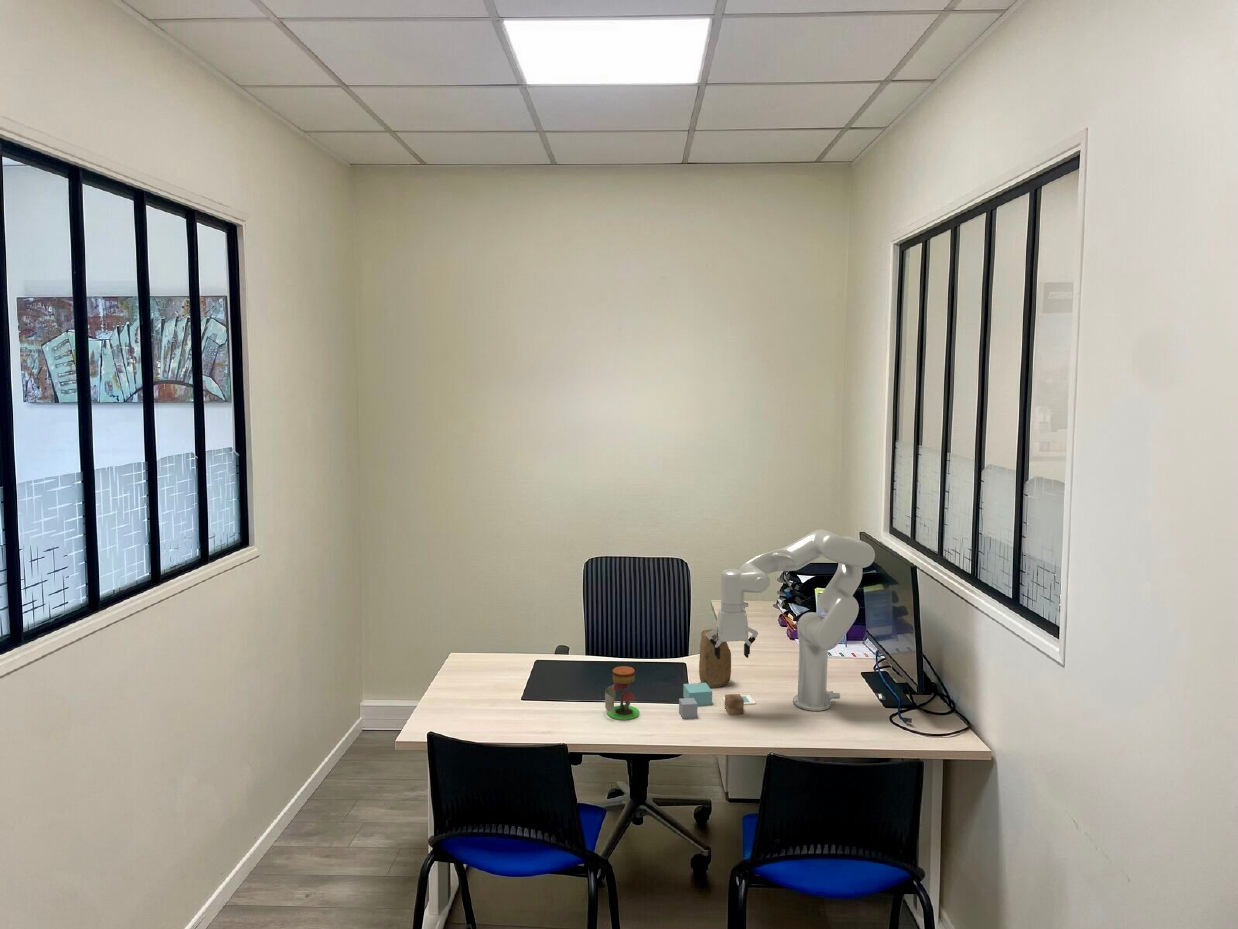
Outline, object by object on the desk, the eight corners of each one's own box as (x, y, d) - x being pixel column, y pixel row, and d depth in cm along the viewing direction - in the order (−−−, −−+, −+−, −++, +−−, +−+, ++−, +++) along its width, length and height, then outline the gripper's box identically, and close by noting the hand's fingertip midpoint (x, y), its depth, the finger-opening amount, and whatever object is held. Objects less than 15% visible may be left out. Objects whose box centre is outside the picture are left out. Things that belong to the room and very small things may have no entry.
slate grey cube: (693, 712, 276) (693, 697, 276) (697, 718, 272) (697, 703, 271) (678, 713, 276) (679, 698, 275) (682, 719, 271) (682, 704, 270)
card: (749, 696, 290) (749, 694, 290) (755, 704, 283) (755, 702, 283) (721, 697, 288) (721, 696, 288) (727, 706, 281) (727, 704, 281)
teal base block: (705, 696, 290) (705, 682, 289) (712, 705, 282) (712, 691, 282) (683, 698, 289) (683, 684, 288) (689, 707, 281) (689, 693, 280)
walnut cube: (739, 708, 280) (739, 693, 279) (743, 714, 275) (743, 699, 274) (724, 709, 279) (725, 694, 279) (728, 715, 274) (729, 700, 274)
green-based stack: (636, 704, 282) (637, 661, 281) (644, 719, 270) (644, 675, 268) (602, 706, 280) (602, 663, 279) (608, 722, 268) (608, 677, 266)
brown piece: (703, 689, 296) (704, 634, 294) (697, 681, 303) (698, 628, 301) (732, 687, 298) (733, 633, 295) (726, 679, 305) (727, 626, 303)
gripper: (754, 602, 277) (754, 652, 279) (704, 604, 275) (703, 654, 277) (761, 609, 270) (760, 660, 272) (709, 611, 268) (708, 662, 270)
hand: (732, 657), depth 275 cm, fingers open, 9 cm apart
